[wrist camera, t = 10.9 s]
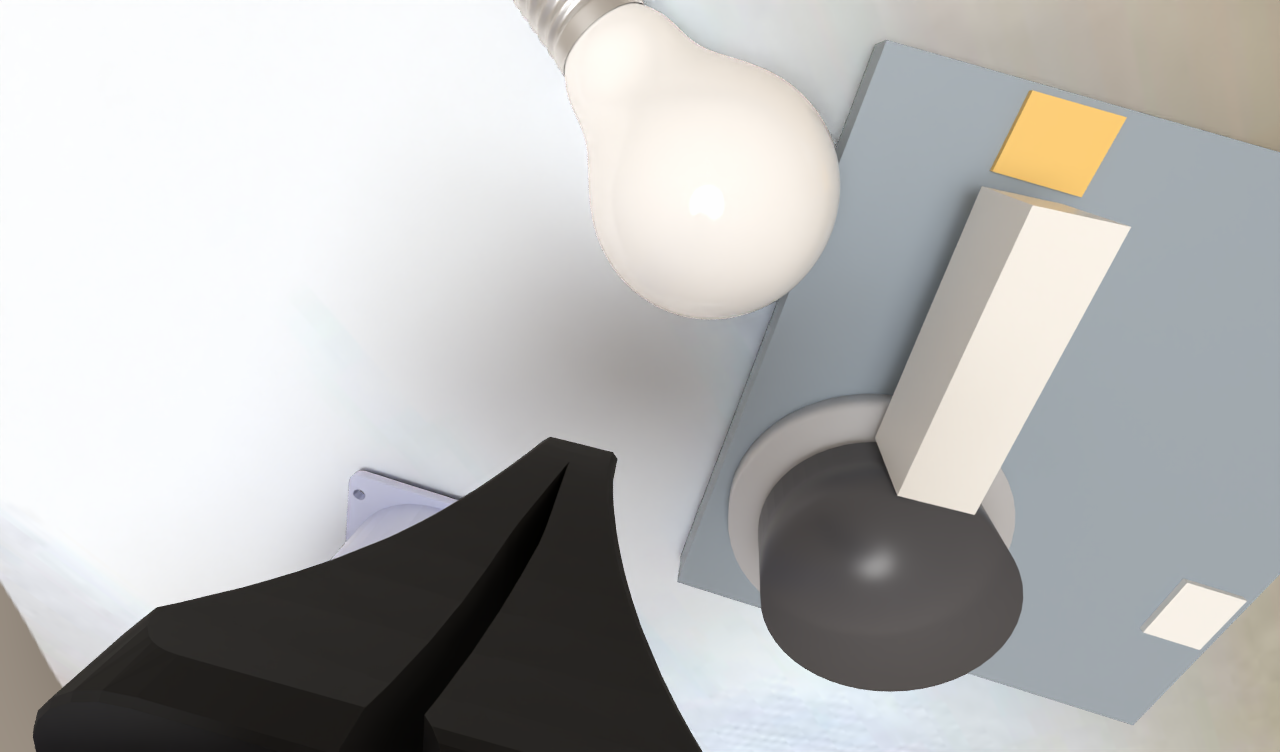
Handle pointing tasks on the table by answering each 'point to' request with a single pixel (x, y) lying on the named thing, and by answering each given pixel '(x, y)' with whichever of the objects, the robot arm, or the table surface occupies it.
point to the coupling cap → (933, 466)
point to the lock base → (1079, 385)
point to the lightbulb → (691, 159)
